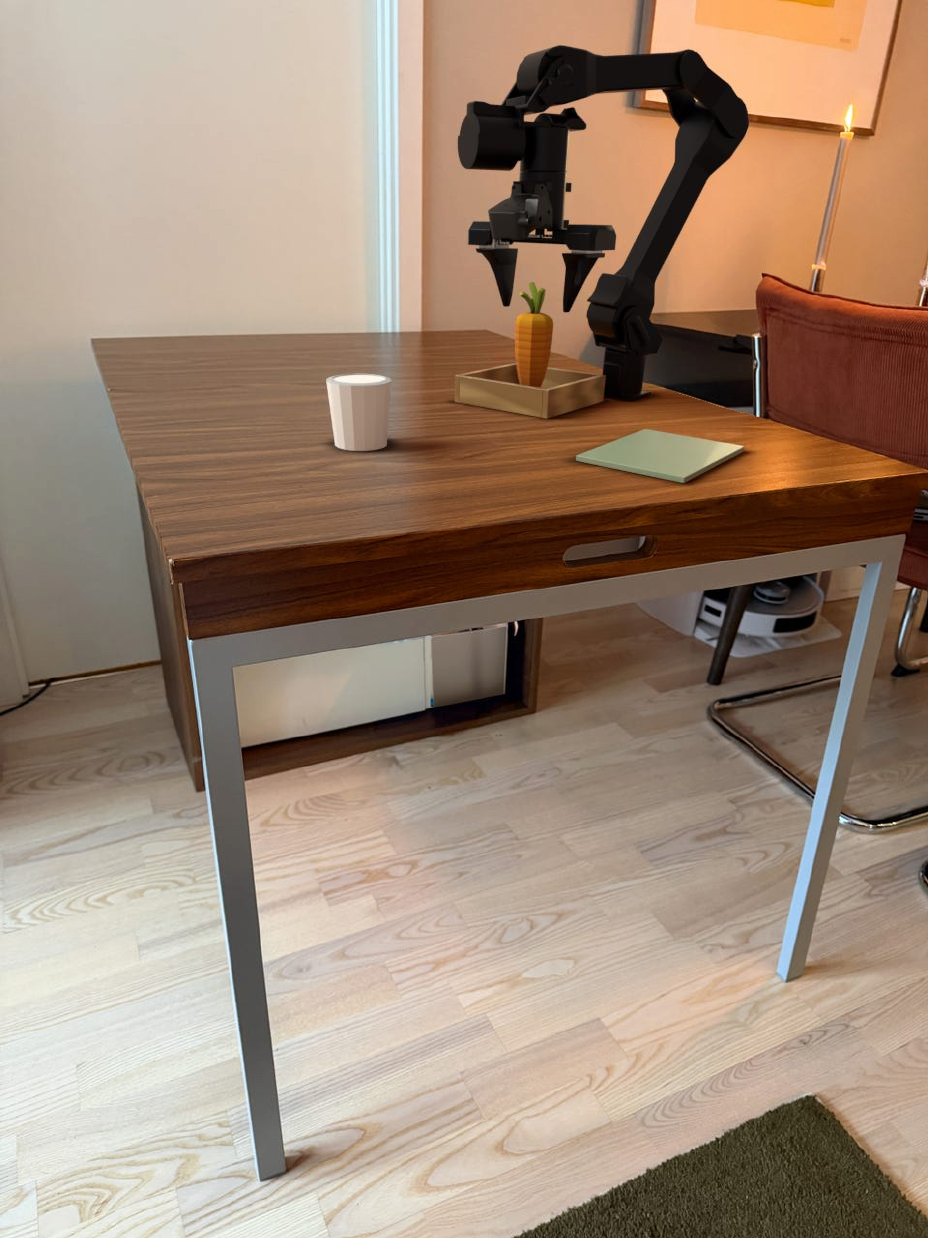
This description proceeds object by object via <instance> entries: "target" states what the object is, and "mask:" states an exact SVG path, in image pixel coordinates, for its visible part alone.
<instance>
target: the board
mask: <svg viewBox="0 0 928 1238" xmlns="http://www.w3.org/2000/svg"><path fill="white" fill-rule="evenodd" d="M743 452H745V446H744V445H739V444H734V443H729V442H728V443H727V442H723V441H716V440H711V439H705V438H701V437H696V436H695V437H694V436H689V435H683V434H677V433H672V432H665V431H660V430H655V429H648V428H643V429H641V430H639V431H636V432H632V433H631V434H627V435H626V436H623V437H621V438H617V439H615V440H613V441H610V442H607V443H605V444H602V445H600V446H597V447H594V448H592V449H590V450H587V451H585V452H582V453H579V454H576V455H575V461H576V462H580V463H585V464H589V465H593V466H598V467H604V468H608V469H613V470H617V471H623V472H628V473H632V474H637V475H642V476H647V477H652V478H655V479H661V480H666V481H670V482H675V483H680V484H686V483H687V482H689V481H691V480H693V479H696V477H697V478H698V477H699V476H700V475H702V474H704V473H706V472H708V471H710V470H712V469H714V468H716V467H717V466H719V465H721V464H723V463H725V462H727V461H728V460H731V459H733V458H734V457H736V456H738V455H740V454H742V453H743Z"/></svg>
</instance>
